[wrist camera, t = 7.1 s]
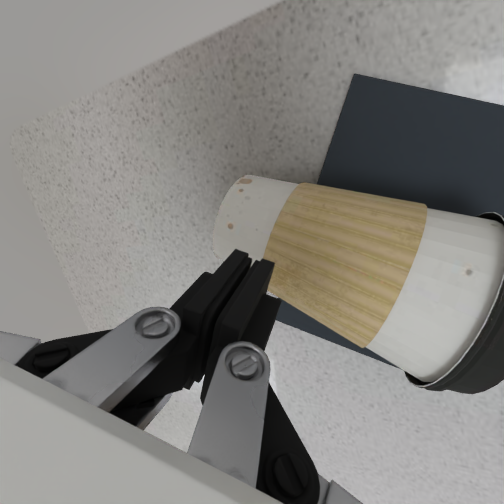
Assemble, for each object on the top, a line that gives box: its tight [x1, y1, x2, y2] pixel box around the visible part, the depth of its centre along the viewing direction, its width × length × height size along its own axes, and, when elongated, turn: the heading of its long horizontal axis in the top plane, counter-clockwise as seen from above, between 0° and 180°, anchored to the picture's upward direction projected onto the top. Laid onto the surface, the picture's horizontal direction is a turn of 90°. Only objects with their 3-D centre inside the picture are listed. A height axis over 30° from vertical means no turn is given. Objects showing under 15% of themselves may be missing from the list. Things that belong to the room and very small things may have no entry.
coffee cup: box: [212, 175, 504, 394], centre depth 16 cm, size 10×10×15 cm
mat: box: [275, 74, 504, 370], centre depth 20 cm, size 20×16×1 cm
